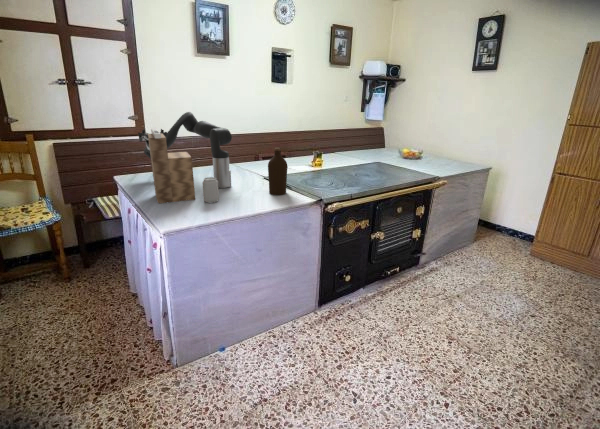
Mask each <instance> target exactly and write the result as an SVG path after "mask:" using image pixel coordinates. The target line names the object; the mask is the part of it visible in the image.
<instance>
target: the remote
mask: <svg viewBox="0 0 600 429" xmlns="http://www.w3.org/2000/svg"><path fill="white" fill-rule="evenodd" d="M150 132H151V134H153V136H154V137H155V138H161V134H160V132H161V131H159V130H158V128H157V127H150Z"/></svg>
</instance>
